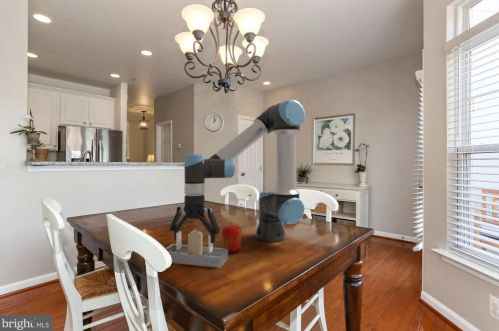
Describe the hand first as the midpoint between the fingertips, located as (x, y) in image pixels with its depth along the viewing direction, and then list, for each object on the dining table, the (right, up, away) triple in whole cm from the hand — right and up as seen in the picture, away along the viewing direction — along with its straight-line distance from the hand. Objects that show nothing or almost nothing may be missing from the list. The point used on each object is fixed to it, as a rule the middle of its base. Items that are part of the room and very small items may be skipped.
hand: (194, 250), depth 98 cm
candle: (0, -3, +1) cm, 3 cm away
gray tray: (0, -4, 0) cm, 4 cm away
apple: (+14, -4, +10) cm, 17 cm away
